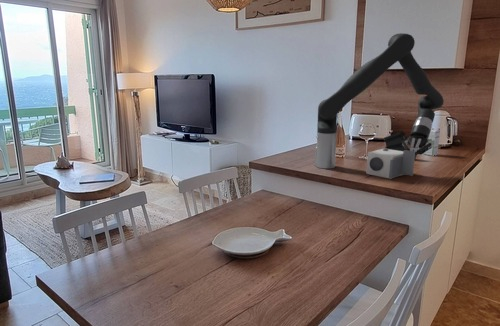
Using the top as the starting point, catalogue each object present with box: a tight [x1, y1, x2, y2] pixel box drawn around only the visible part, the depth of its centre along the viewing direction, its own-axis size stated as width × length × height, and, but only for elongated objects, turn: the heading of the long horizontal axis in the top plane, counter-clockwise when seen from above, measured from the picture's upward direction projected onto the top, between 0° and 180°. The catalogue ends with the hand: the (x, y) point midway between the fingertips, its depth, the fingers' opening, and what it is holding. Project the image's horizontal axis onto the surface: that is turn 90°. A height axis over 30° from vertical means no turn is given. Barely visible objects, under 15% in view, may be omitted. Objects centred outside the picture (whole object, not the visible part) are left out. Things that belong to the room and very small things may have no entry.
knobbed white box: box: [365, 147, 404, 180], centre depth 158 cm, size 12×15×11 cm
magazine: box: [383, 130, 407, 151], centre depth 191 cm, size 4×13×15 cm, turn 35°
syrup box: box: [422, 128, 441, 157], centre depth 198 cm, size 6×6×14 cm
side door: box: [388, 150, 415, 179], centre depth 148 cm, size 6×10×11 cm, turn 130°
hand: (411, 160), depth 150 cm, fingers closed
